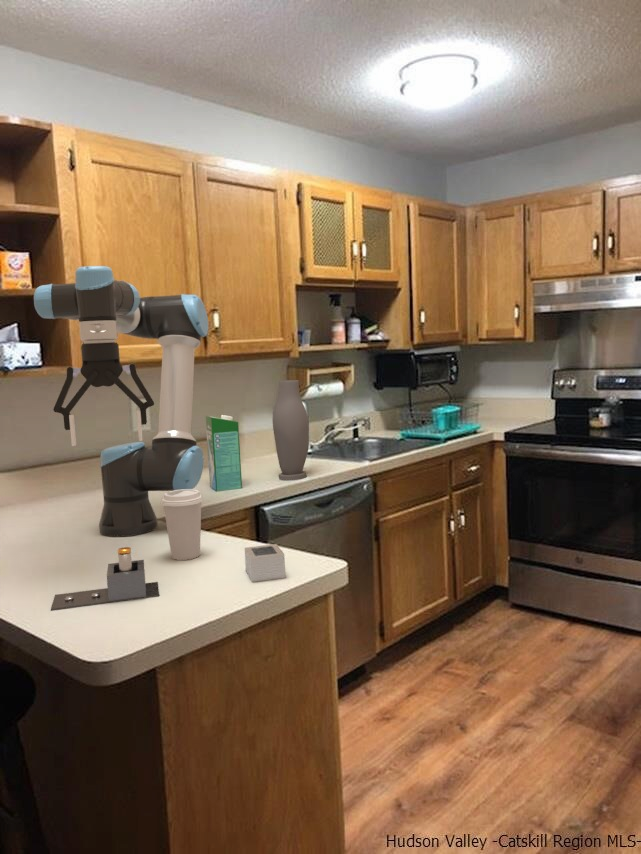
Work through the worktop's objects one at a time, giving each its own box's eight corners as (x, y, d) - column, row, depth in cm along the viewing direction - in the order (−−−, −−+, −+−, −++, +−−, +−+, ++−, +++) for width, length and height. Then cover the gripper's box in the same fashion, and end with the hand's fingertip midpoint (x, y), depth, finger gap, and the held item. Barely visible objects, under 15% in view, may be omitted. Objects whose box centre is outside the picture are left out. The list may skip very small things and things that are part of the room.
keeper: (55, 596, 140) (51, 551, 138) (157, 583, 145) (154, 540, 143) (50, 610, 132) (46, 563, 131) (159, 596, 137) (155, 551, 136)
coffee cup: (188, 547, 169) (184, 486, 168) (215, 553, 163) (211, 490, 161) (156, 558, 162) (151, 494, 160) (183, 564, 156) (178, 499, 154)
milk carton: (242, 488, 237) (237, 415, 234) (216, 491, 234) (211, 417, 231) (235, 483, 245) (231, 412, 242) (210, 486, 242) (205, 415, 239)
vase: (297, 481, 243) (292, 381, 240) (266, 479, 250) (262, 381, 246) (317, 475, 254) (313, 379, 251) (287, 473, 261) (283, 379, 258)
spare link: (245, 570, 150) (244, 547, 150) (277, 566, 152) (276, 544, 151) (252, 582, 143) (250, 558, 142) (285, 577, 144) (284, 554, 144)
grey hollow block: (110, 587, 142) (108, 563, 142) (145, 583, 144) (143, 559, 143) (108, 601, 135) (106, 576, 134) (146, 596, 136) (144, 571, 136)
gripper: (33, 344, 139) (43, 449, 142) (161, 339, 146) (168, 440, 148) (38, 344, 147) (47, 445, 149) (159, 339, 153) (166, 435, 155)
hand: (107, 442), depth 149 cm, fingers open, 13 cm apart
